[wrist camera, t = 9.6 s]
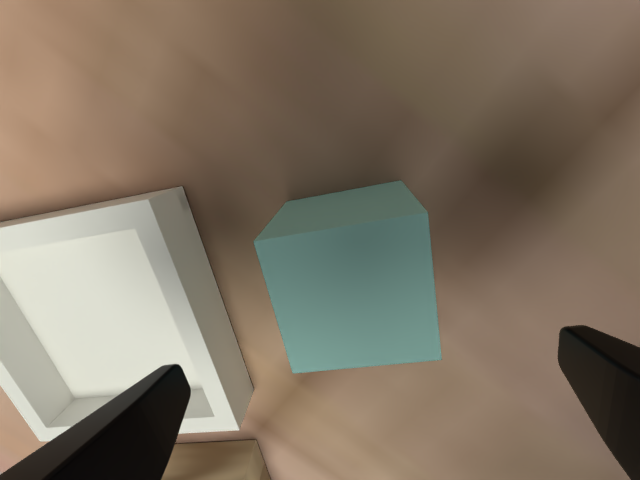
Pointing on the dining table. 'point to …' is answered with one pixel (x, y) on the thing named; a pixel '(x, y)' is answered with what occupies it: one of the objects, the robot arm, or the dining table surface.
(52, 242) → the tray
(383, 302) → the block
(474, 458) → the dining table surface
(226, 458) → the hollow square frame
